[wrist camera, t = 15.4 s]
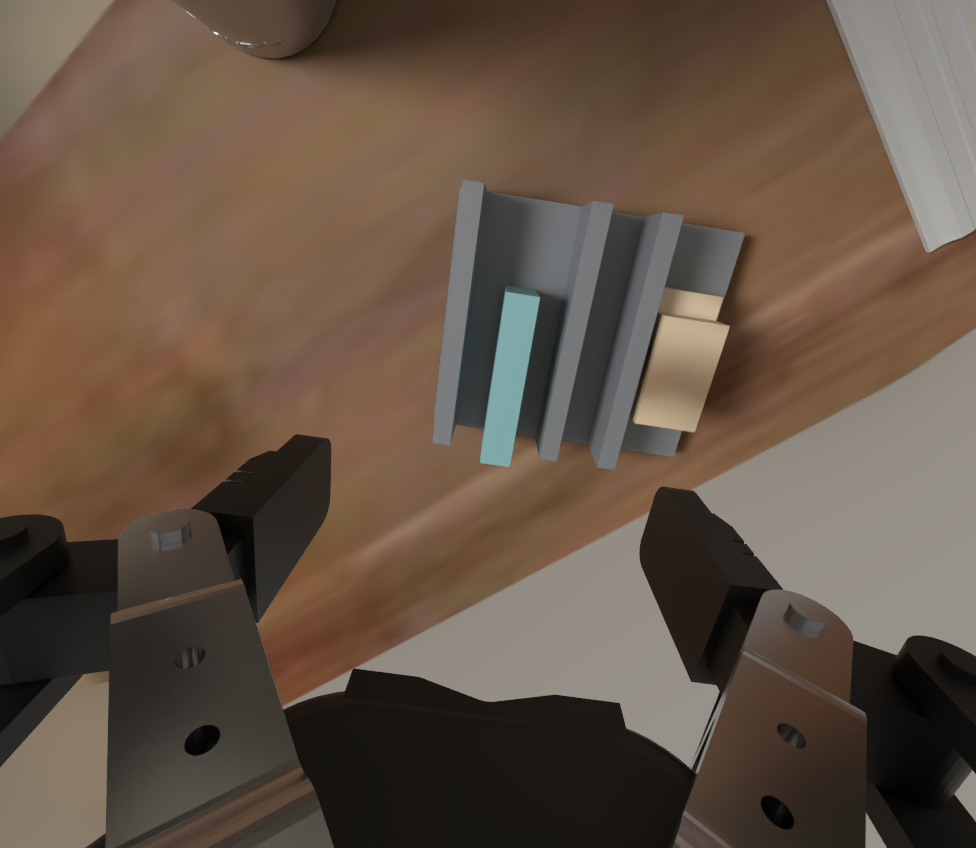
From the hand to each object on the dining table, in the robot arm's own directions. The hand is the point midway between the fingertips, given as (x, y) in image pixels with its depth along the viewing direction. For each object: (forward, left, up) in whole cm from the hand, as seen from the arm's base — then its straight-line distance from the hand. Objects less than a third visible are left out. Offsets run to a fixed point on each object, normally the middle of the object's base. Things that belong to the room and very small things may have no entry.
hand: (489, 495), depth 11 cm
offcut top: (0, +12, -21) cm, 24 cm away
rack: (-1, +5, -24) cm, 25 cm away
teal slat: (-3, +1, -20) cm, 21 cm away
